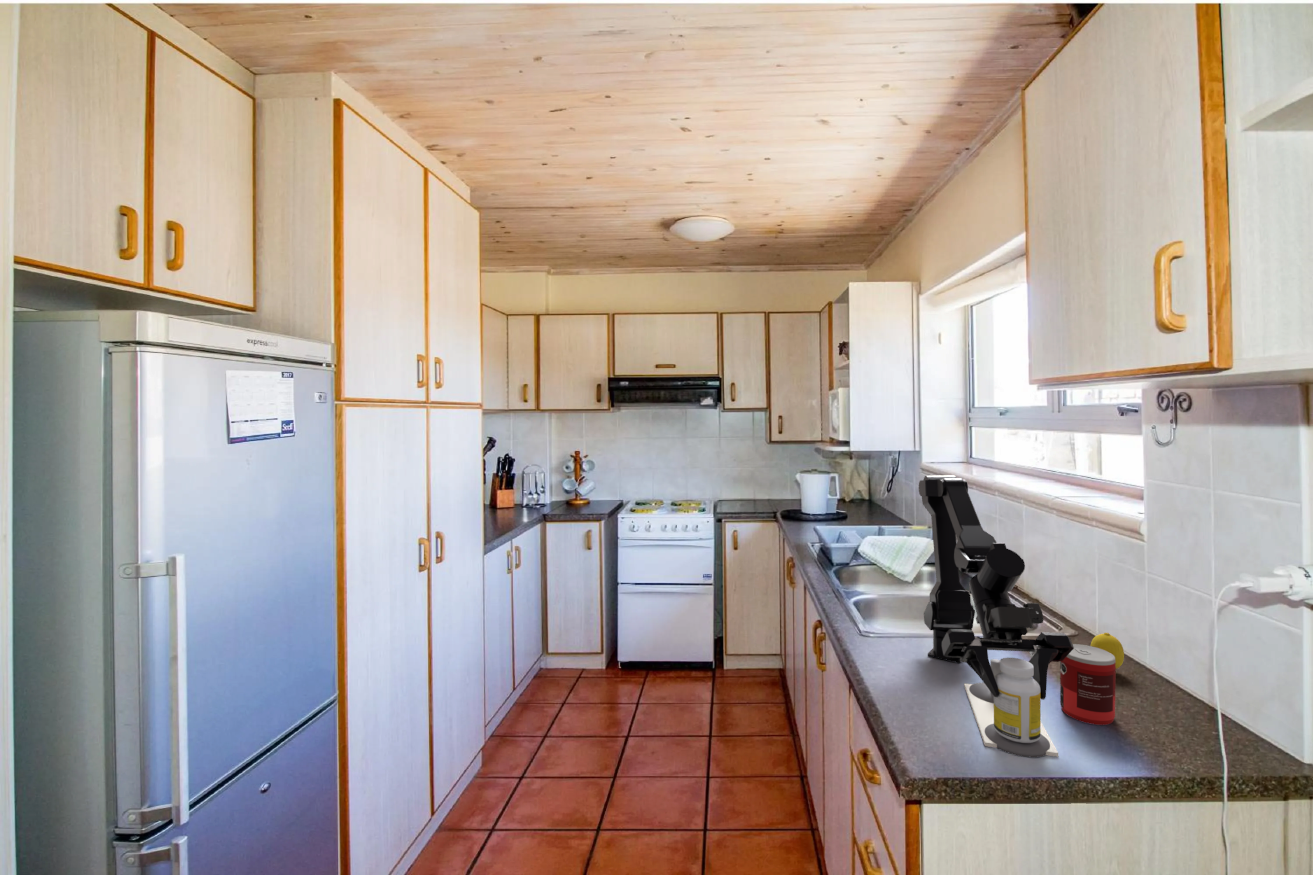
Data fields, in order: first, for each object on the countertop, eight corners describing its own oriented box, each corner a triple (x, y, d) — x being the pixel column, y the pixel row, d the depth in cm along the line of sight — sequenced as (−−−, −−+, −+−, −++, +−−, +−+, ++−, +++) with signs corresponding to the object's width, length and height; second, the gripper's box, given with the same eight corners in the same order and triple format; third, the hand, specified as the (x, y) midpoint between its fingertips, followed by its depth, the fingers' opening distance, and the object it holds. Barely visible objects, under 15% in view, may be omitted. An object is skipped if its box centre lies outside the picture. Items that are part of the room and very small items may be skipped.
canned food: (1078, 700, 110) (1078, 640, 109) (1126, 720, 102) (1126, 657, 102) (1049, 708, 107) (1049, 647, 106) (1096, 729, 99) (1096, 664, 99)
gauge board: (963, 682, 117) (963, 649, 117) (1021, 689, 114) (1021, 655, 114) (986, 750, 94) (986, 708, 94) (1061, 762, 90) (1061, 718, 90)
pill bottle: (1039, 729, 98) (1040, 659, 97) (1041, 749, 92) (1041, 675, 92) (993, 719, 101) (994, 652, 100) (992, 738, 95) (993, 666, 95)
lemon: (1095, 675, 119) (1095, 636, 119) (1085, 664, 125) (1086, 626, 124) (1128, 679, 118) (1129, 638, 117) (1117, 667, 123) (1117, 629, 123)
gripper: (946, 582, 101) (969, 675, 91) (1068, 584, 98) (1106, 681, 88) (933, 612, 109) (952, 700, 99) (1045, 615, 106) (1077, 707, 96)
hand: (1020, 697), depth 95 cm, fingers closed on pill bottle, 6 cm apart
